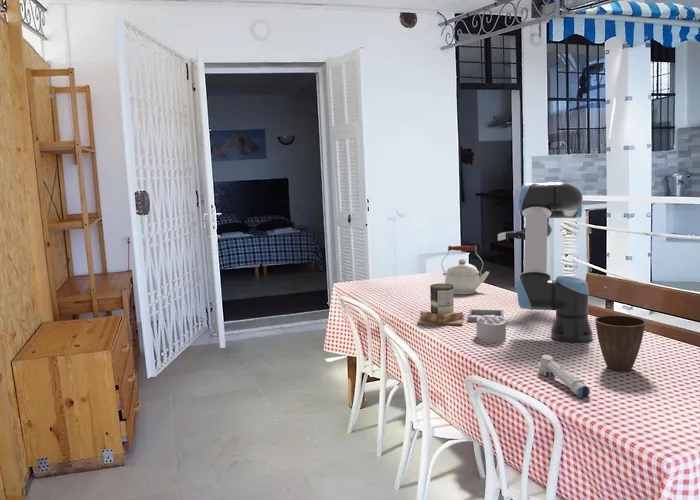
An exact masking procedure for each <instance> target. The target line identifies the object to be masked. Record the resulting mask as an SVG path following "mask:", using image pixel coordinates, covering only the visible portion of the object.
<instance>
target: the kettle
mask: <svg viewBox="0 0 700 500" xmlns="http://www.w3.org/2000/svg"><path fill="white" fill-rule="evenodd" d="M451 251H457V252H458V251H460V252H462V251H475V255H476V256H477V258H479V259H480V261H481V264H482V267H481V270H480V271H479V270H478V269H477V267H476V266H475V265H473V264H471V263H467V262H466V260H465V259H464V258H460V259H459V260H458V263H454V264H452V265H450V266H449V267H448V268H447V270H446V271H445V269H444V266H443V265H441V267H442V271H443V273H442V275H444V277H445V279H444V284H451V285H453V286H454V288H453V295H472V294H475V293H476V292H477V289H478V288H479V287H480V285H481V284H482V283H483V282H485V280H486V278H487V277H488V276H489V274H490V271H485V272H484V273H481V272H482V270H483V268H484V261H483V260H482V258H481V257H480V255H478V252H477V245H472V246H471V245H455V246H454V245H453V246H451V245H448V246H447V254H446V255H445V256H444V257H443V259H442V260H441V263H443V262H444V260H445V258H447V256H448V255H449V253H450V252H451Z"/></svg>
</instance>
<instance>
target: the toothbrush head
mask: <svg viewBox="0 0 700 500" xmlns="http://www.w3.org/2000/svg"><path fill="white" fill-rule="evenodd" d="M540 357H541V358H540V361H539V362H538V363H537V367H538V374H539V375H540V376H542V375H543V376H544V377H553V376H555V377H556V378H557V379H559V380H560V381H561V382H562V383H563V384H565V386H567V387H568V388H569V389H570V392H571V393H572V394H573V395H576V396H577V397H579V399H581V398H582V399H583V398H587V397H589V395H590V394H591V389H590V388H589V387H588V386H587V385H586V383H585V382H584V381H583V380H582V379H578V378H577V377H575V376H574V375H573V374H572V373H570V372H569V371H567V370H566V368H564V367H562V366H561V365H559V364H558V363H557V362H555V361H554V358H553V356H552V355H549V354H543V355H542V356H540Z"/></svg>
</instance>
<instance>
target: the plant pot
mask: <svg viewBox="0 0 700 500" xmlns="http://www.w3.org/2000/svg"><path fill="white" fill-rule="evenodd" d="M594 321H595V326H596V334H597V339H598V343H599V347H600V352H601V354H602V357H603V360H604V362H605V365H606V367H607V369H608V370H611V371H615V372H630V371H631V370H632V369H633V367H634V364H635V362H636V360H637V358H638V355H639V351H640V348H641V345H642V342H643V338H644V334H645V333H644V332H645V327H646V321H645V320H644V319H642V318H639V317H635V316H628V315H602V316H598V317H596V318H595V319H594Z"/></svg>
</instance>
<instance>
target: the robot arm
mask: <svg viewBox="0 0 700 500" xmlns="http://www.w3.org/2000/svg"><path fill="white" fill-rule="evenodd" d="M582 202H583V193H582V192H581V191H580V189H579V188H577V186H574V185H573V184H570V183H566V182H562V181H557V182H554V181H553V182H549V181H548V182H525V183H524V184H523V183H522V185H521V187H520V192H519V198H518V211H520V212H521V214H522V216H523V218H524V219H525V227H523V228H522V230H514V231H513V230H512V231H503V232H498V234H497V241H499V242H500V241H505V240H507V239H516V240H517V239H518V240H520V239H521V240H524V257H523V258H524V260H523V261H524V262H523V265H524V266H523V272H521V273H520V274H519V278H518V279H516V280H515V285H516V286H515V287H516V293H517V295H516V296H517V302H518V307H519V308H520V309H523V310H530V311H532V310H538V311H555V318H554V321H553V324H552V327H551V329H550V337H551V339H554V340H557V341H560V342H564V343H565V342H567V343H584V342H589V341H592V340H593V330H592V327H591V323H590V321H589V295H590V293H589V284H588V282H587V281H586V280H584V279H581V278H578V277H574V276H565V275H559V276H556V278H555V280H552V279H551V275H550V274H549V273H548V270H547V269H548V268H547V266H548V265H547V264H548V258H547V257H548V237H550V235H551V234H552V227H551V224H550V219H580V218H582V216H583V215H582V214H583V209H582V208H583V204H582Z"/></svg>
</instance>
